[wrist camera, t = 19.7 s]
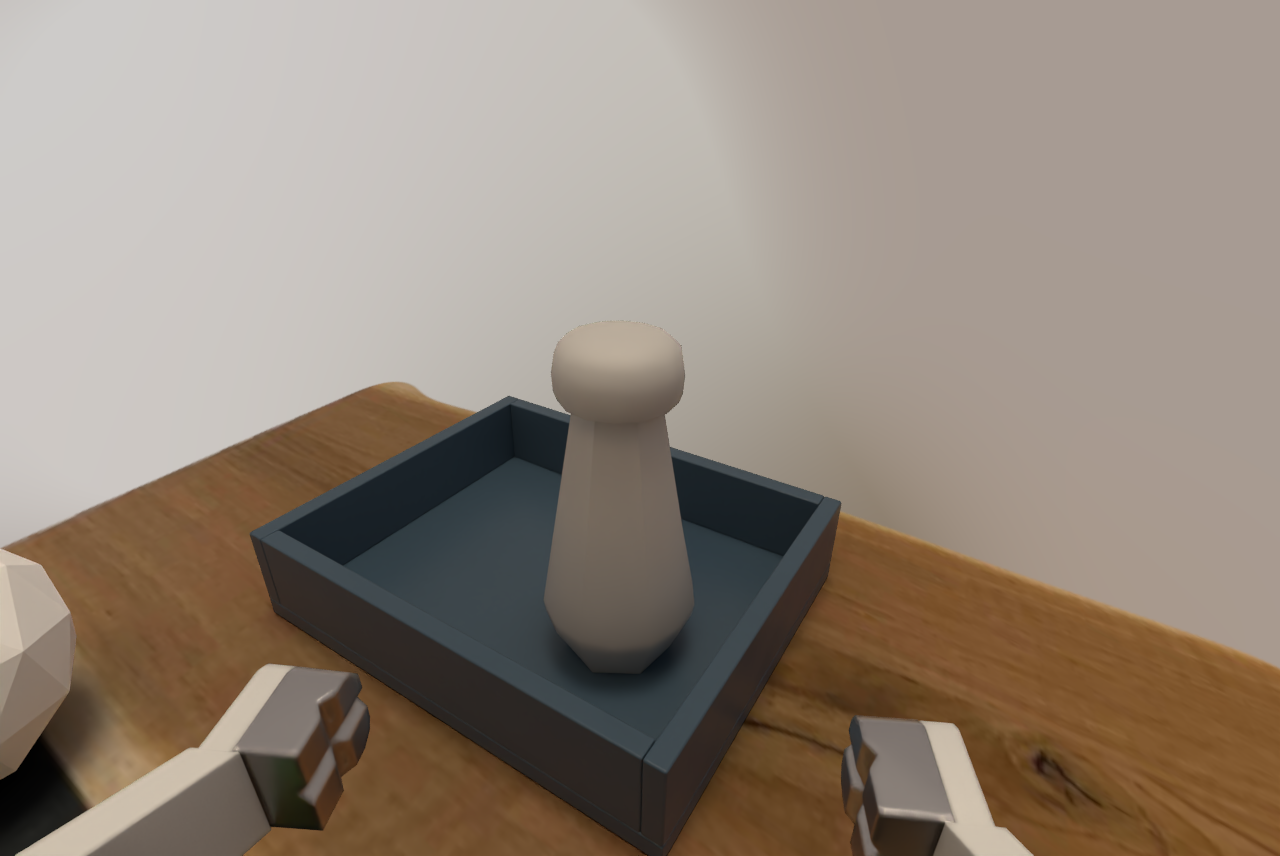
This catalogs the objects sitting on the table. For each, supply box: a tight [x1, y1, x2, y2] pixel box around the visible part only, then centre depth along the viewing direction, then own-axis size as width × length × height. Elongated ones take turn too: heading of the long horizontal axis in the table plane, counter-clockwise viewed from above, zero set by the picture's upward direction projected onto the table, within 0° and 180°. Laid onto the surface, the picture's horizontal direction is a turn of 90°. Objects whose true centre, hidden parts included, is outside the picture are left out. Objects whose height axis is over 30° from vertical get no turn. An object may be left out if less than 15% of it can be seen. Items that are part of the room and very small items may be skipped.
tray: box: [250, 396, 841, 856], centre depth 30 cm, size 20×16×4 cm
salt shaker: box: [544, 321, 694, 674], centre depth 24 cm, size 6×6×13 cm
